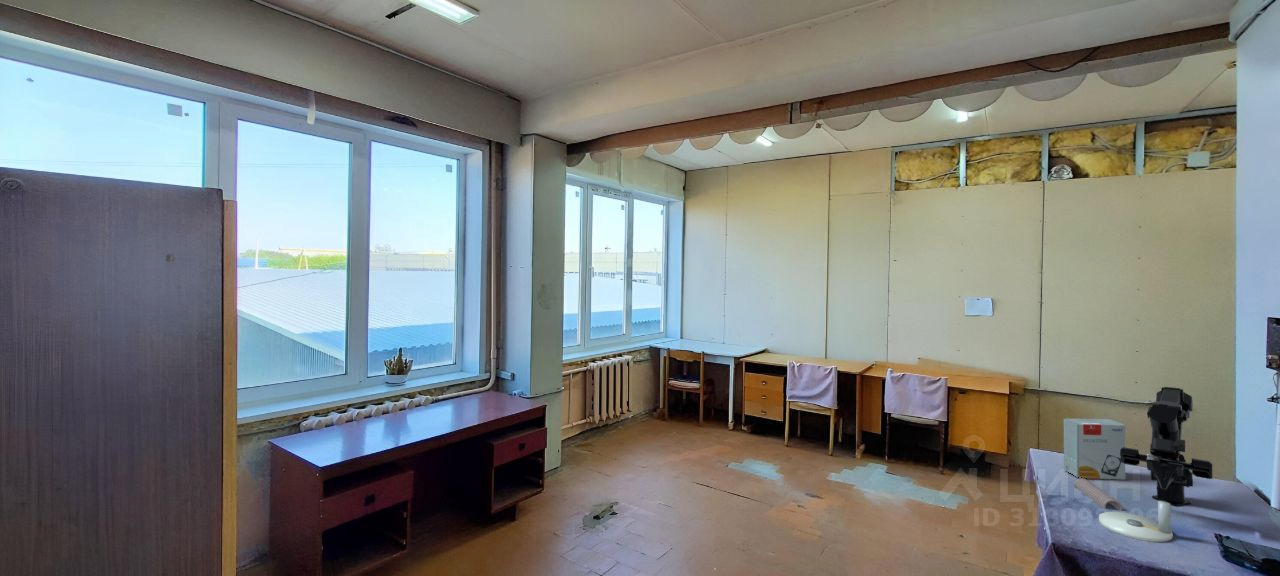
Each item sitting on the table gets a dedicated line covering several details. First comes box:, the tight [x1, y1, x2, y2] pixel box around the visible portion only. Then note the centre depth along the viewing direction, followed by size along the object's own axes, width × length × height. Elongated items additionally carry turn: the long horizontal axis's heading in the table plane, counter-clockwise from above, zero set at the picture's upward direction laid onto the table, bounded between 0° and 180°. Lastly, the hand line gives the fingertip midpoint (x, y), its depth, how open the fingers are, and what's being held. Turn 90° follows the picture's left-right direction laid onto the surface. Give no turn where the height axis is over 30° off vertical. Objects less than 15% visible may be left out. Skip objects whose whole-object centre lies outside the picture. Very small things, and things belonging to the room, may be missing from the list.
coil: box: [1073, 478, 1123, 512], centre depth 163 cm, size 5×5×18 cm
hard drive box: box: [1063, 418, 1126, 481], centre depth 183 cm, size 16×8×20 cm, turn 81°
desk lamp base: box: [1098, 500, 1174, 543], centre depth 144 cm, size 15×15×9 cm
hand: (1163, 488), depth 145 cm, fingers closed
